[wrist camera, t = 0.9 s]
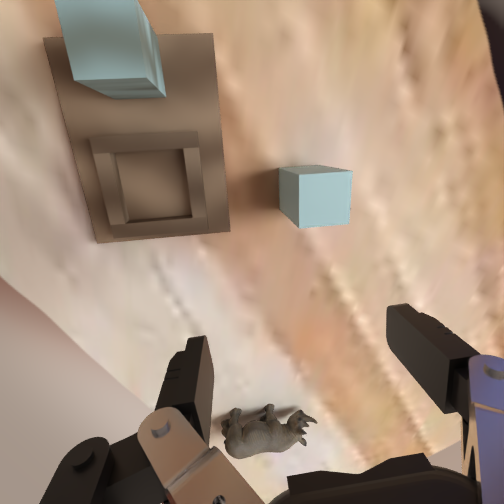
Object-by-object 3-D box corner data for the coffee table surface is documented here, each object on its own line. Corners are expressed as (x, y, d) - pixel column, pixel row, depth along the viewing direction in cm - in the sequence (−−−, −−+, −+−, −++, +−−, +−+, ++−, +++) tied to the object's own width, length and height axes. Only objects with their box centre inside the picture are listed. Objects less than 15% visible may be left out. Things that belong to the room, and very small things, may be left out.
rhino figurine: (310, 415, 44) (324, 454, 38) (221, 429, 43) (222, 471, 37) (310, 395, 43) (325, 433, 37) (219, 409, 41) (219, 450, 36)
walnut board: (49, 41, 24) (-39, -14, 16) (212, 37, 26) (211, -16, 17) (101, 240, 31) (58, 275, 22) (230, 229, 32) (235, 258, 24)
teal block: (278, 167, 30) (299, 174, 23) (319, 165, 31) (352, 171, 23) (279, 209, 32) (299, 228, 24) (318, 206, 32) (349, 223, 25)
